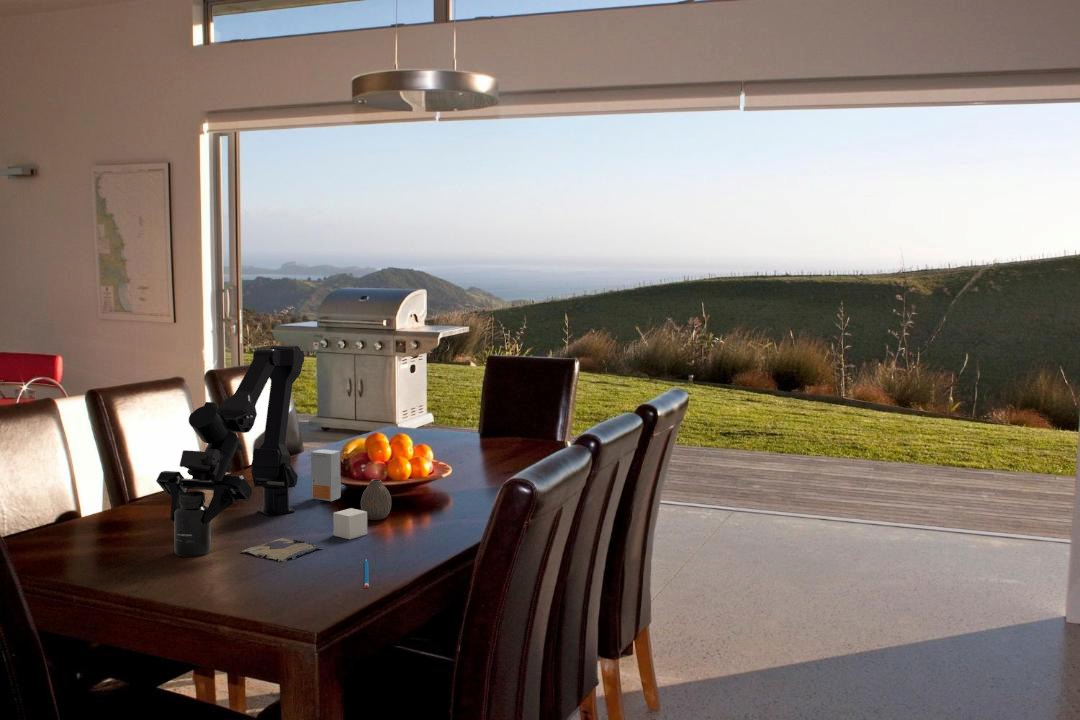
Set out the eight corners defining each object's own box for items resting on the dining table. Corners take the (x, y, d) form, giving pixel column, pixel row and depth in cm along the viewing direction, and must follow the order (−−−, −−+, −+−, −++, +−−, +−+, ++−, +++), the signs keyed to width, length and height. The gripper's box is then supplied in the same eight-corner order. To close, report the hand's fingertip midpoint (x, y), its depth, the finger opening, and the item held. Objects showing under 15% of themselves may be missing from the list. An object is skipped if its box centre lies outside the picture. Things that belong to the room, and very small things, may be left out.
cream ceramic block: (333, 535, 200) (333, 512, 200) (351, 530, 204) (351, 508, 204) (349, 539, 197) (349, 516, 197) (367, 534, 201) (367, 511, 201)
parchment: (283, 564, 181) (282, 559, 181) (236, 554, 187) (236, 549, 187) (328, 549, 191) (328, 544, 191) (283, 539, 198) (283, 535, 198)
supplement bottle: (176, 559, 183) (174, 499, 181) (172, 550, 189) (170, 491, 188) (213, 554, 186) (212, 495, 185) (208, 546, 192) (207, 488, 191)
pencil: (364, 589, 167) (364, 586, 166) (364, 561, 183) (364, 557, 183) (368, 589, 167) (368, 585, 167) (368, 560, 183) (368, 557, 183)
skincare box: (310, 499, 232) (310, 451, 231) (321, 495, 236) (320, 448, 235) (331, 501, 230) (330, 453, 229) (341, 498, 234) (340, 450, 233)
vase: (385, 522, 210) (384, 484, 210) (356, 521, 212) (355, 482, 211) (395, 515, 217) (395, 477, 216) (367, 513, 219) (367, 476, 218)
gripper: (160, 431, 191) (126, 497, 181) (243, 435, 187) (213, 503, 177) (184, 462, 199) (153, 527, 190) (264, 466, 195) (237, 532, 185)
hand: (188, 522), depth 185 cm, fingers closed on supplement bottle, 7 cm apart
